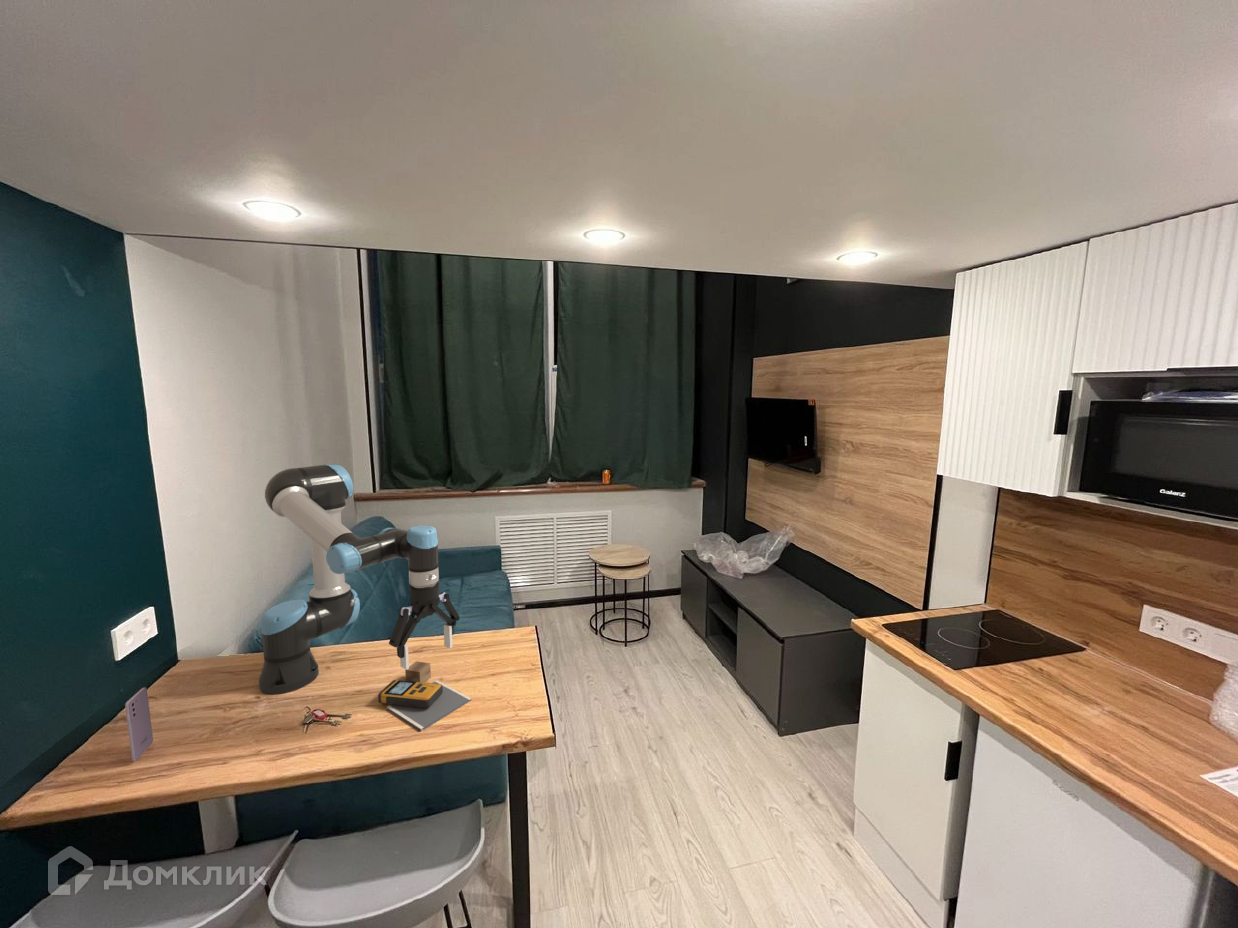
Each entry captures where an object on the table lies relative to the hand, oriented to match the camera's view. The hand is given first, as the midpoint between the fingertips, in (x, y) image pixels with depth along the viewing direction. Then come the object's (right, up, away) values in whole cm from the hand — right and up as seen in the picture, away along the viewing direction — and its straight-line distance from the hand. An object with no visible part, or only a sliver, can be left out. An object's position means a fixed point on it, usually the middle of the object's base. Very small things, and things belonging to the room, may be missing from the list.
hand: (427, 656), depth 136 cm
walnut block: (-8, -13, +13) cm, 20 cm away
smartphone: (-62, -16, -17) cm, 66 cm away
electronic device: (+1, -15, +2) cm, 15 cm away
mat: (0, -14, +2) cm, 14 cm away
